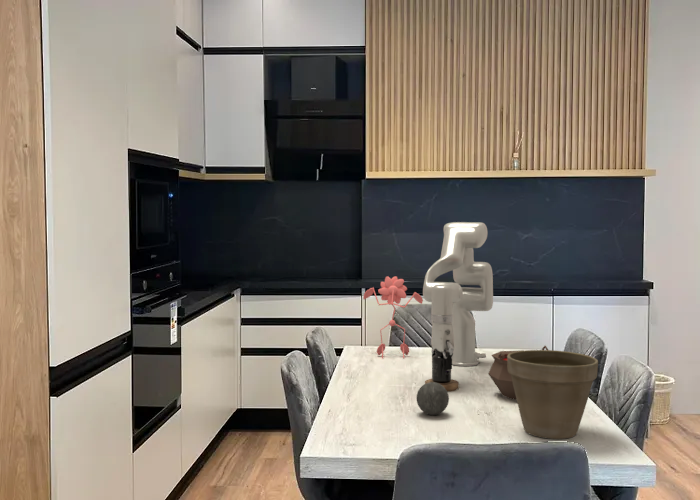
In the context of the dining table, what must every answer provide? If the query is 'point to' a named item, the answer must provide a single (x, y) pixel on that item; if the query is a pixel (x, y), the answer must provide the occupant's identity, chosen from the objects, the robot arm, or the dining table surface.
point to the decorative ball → (432, 398)
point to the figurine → (391, 293)
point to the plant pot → (551, 390)
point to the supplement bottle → (439, 369)
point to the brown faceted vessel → (503, 374)
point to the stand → (448, 385)
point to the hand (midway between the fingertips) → (441, 366)
